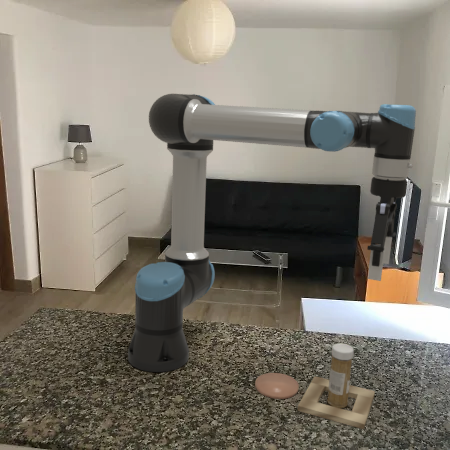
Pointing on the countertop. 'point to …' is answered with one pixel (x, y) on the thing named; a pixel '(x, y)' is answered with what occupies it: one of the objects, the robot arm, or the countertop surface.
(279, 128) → the robot arm
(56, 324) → the countertop surface
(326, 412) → the collar board
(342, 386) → the sprinkles bottle
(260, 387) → the coaster
